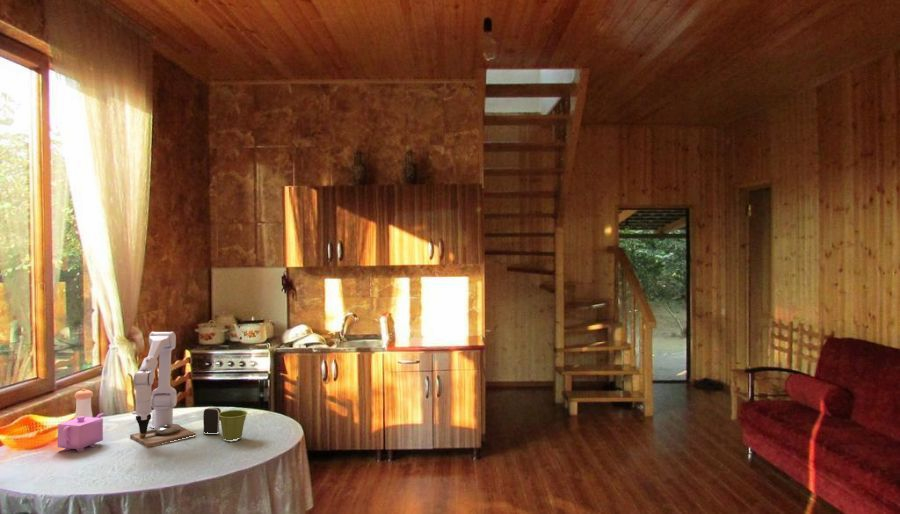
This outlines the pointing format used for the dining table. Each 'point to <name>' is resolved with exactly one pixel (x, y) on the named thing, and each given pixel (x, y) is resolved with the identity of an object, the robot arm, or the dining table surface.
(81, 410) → the pepper shaker
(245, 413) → the plant pot
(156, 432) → the crank handle wheel
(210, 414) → the battery charger
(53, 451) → the dining table surface
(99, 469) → the dining table surface
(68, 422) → the teapot
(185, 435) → the cutting board
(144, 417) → the robot arm
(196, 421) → the dining table surface
